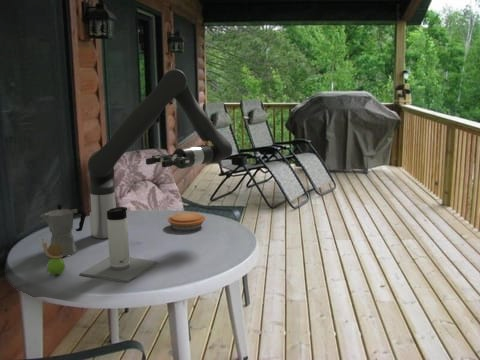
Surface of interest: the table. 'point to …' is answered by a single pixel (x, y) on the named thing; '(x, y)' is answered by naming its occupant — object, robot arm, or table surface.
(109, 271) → the mat
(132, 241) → the table surface
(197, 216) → the pie
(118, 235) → the travel mug
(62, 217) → the coffeepot
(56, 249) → the snail figurine
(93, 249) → the table surface
